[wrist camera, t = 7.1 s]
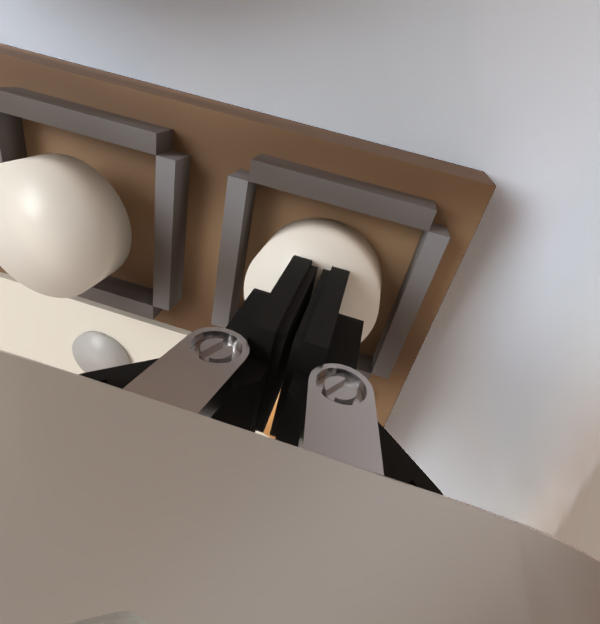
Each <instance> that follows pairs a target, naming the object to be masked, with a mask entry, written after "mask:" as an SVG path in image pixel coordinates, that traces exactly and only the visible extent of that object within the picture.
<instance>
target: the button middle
mask: <svg viewBox="0 0 600 624" xmlns="http://www.w3.org/2000/svg"><path fill="white" fill-rule="evenodd" d="M131 241H132V234H131V226H130V221H129V217H128V214H127V211H126V209H125V207H124V205H123V203H122V201H121V199H120V197H119V195H118V194H117V193H116V191H115V190H114V188H113V187H112V186H111V185H110V183H109V182H108V181H107V180H106V179H105V178H104V177H103V176H102V175H101V174H100V173H99V172H98V171H96V170H95V169H94V168H93V167H91V166H90V165H88V164H87V163H85V162H83V161H81V160H79V159H77V158H75V157H72V156H69V155H65V154H61V153H47V154H41V155H36V156H32V157H27V158H22V159H17V160H13V161H8V162H3V163H0V266H1V267H2V268H3V269H4V270H5V271H6V272H7V273H8V274H9V275H10V276H12V277H13V278H14V279H15V280H17V281H18V282H19V283H21V284H22V285H24V286H26V287H27V288H29V289H31V290H33V291H35V292H37V293H40V294H43V295H46V296H50V297H56V298H69V297H74V296H77V295H80V294H82V293H84V292H85V291H87V290H88V289H90V288H91V287H93V286H94V285H96V284H97V283H99V282H100V281H102V280H103V279H105V278H106V277H107V276H109V275H110V274H112V273H113V272H115V271H116V270H118V269H119V268H120V267H121V266H122V265H123V264H124V262H125V261H126V259H127V257H128V255H129V252H130V248H131Z"/></svg>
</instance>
